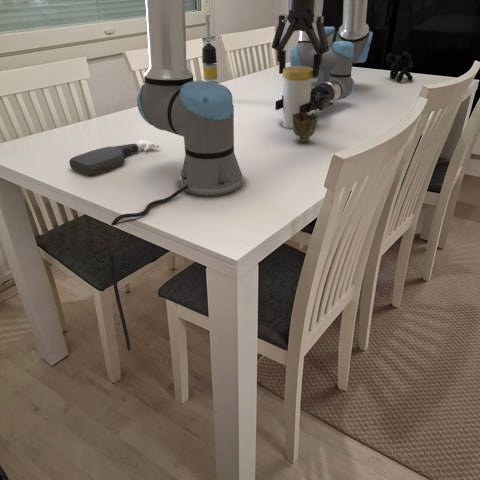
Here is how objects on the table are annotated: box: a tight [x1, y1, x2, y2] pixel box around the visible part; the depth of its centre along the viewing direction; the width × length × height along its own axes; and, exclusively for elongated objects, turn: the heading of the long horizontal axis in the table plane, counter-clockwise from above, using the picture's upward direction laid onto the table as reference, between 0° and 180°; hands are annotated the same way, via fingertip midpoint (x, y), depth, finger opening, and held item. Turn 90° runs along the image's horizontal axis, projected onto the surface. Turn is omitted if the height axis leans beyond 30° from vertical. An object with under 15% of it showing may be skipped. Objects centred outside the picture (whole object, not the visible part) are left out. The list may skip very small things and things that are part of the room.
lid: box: [282, 66, 313, 80], centre depth 140 cm, size 10×10×2 cm
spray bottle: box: [68, 139, 160, 177], centre depth 124 cm, size 3×11×24 cm
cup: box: [292, 111, 319, 144], centre depth 132 cm, size 8×7×8 cm
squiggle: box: [385, 51, 414, 83], centre depth 198 cm, size 11×10×15 cm
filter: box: [201, 14, 219, 84], centre depth 171 cm, size 6×6×30 cm
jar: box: [282, 78, 312, 130], centre depth 144 cm, size 9×9×17 cm
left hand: (298, 74), depth 140 cm, fingers open, 11 cm apart
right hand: (288, 108), depth 142 cm, fingers closed on jar, 9 cm apart
